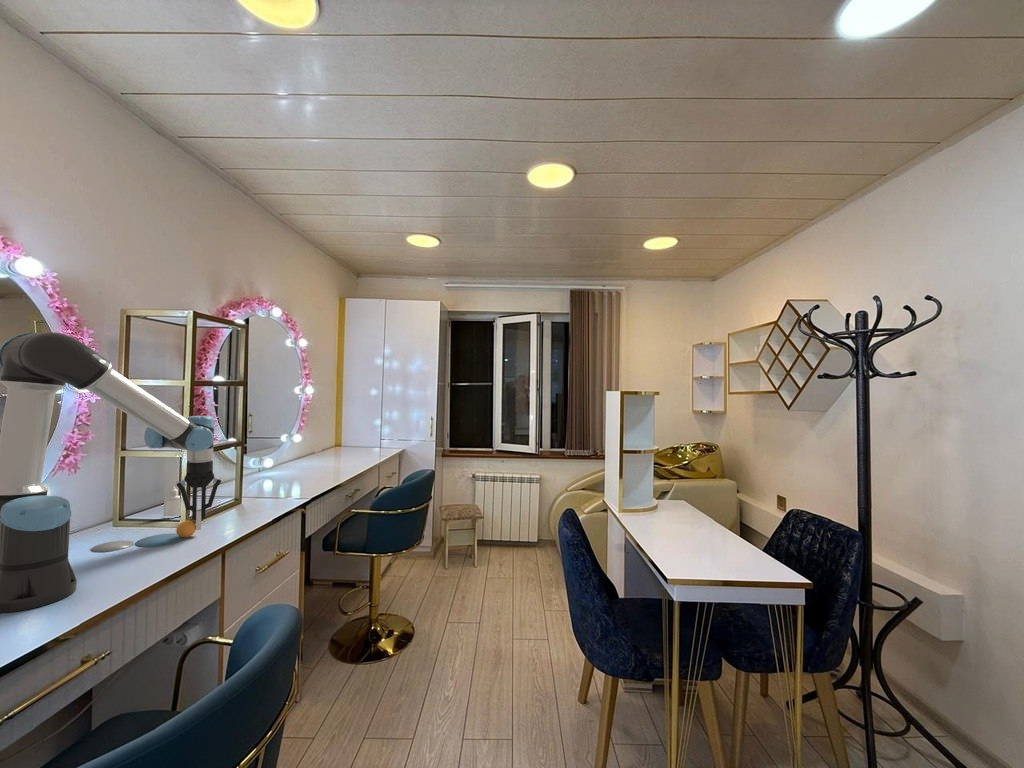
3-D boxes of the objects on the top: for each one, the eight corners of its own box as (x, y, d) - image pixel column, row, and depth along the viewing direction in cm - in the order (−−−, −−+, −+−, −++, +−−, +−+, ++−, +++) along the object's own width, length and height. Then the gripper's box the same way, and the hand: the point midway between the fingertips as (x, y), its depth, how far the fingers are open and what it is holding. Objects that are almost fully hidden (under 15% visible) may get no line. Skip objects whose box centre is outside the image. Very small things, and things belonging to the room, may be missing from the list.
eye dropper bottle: (177, 518, 172) (179, 487, 172) (161, 519, 171) (162, 487, 171) (183, 515, 176) (185, 485, 177) (167, 516, 175) (168, 485, 175)
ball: (191, 537, 151) (181, 525, 149) (179, 543, 152) (168, 531, 150) (203, 527, 156) (192, 515, 154) (191, 532, 157) (180, 520, 155)
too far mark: (108, 553, 136) (108, 552, 136) (82, 550, 138) (82, 549, 138) (141, 542, 146) (141, 542, 146) (116, 539, 148) (116, 539, 148)
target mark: (158, 548, 141) (158, 548, 141) (124, 544, 144) (124, 544, 144) (194, 536, 154) (194, 535, 154) (162, 532, 156) (162, 531, 156)
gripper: (222, 457, 161) (220, 522, 161) (177, 460, 154) (175, 528, 154) (222, 460, 155) (221, 528, 155) (176, 463, 148) (174, 535, 148)
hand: (198, 528), depth 155 cm, fingers closed
